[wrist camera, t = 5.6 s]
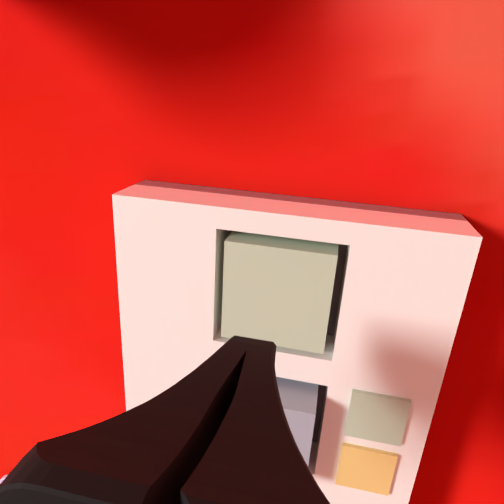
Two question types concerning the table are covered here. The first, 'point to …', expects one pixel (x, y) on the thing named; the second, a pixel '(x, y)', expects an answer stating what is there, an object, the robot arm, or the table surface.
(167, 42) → the table surface
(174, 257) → the keyguard panel
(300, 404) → the key slate
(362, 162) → the table surface
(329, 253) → the key sage
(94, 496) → the robot arm
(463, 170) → the table surface
